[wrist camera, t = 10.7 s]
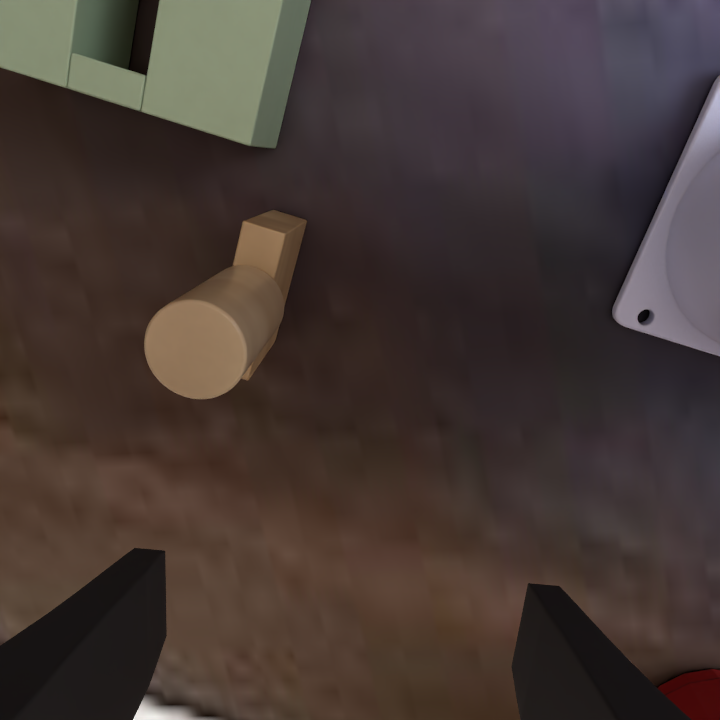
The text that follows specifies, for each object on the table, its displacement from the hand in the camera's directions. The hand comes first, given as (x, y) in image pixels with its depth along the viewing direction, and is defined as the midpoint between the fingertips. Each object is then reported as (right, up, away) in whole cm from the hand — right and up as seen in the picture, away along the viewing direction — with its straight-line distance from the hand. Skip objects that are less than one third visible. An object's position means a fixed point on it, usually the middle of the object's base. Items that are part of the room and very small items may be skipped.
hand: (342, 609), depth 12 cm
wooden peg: (-3, +8, +9) cm, 12 cm away
